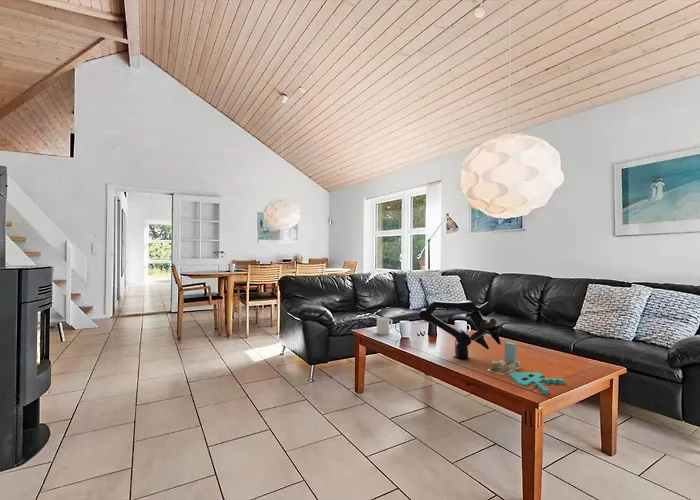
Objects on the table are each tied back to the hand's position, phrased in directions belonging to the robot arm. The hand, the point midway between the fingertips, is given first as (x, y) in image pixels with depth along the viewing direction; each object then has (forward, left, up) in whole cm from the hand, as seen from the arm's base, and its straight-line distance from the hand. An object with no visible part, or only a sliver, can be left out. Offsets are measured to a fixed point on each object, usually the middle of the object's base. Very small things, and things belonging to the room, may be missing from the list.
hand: (494, 346), depth 199 cm
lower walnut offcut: (+11, -10, -8) cm, 17 cm away
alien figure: (+27, -6, -10) cm, 29 cm away
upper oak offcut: (+10, -10, -6) cm, 16 cm away
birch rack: (+10, -4, -9) cm, 14 cm away
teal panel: (+9, +1, -8) cm, 12 cm away
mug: (-83, -13, -9) cm, 85 cm away
